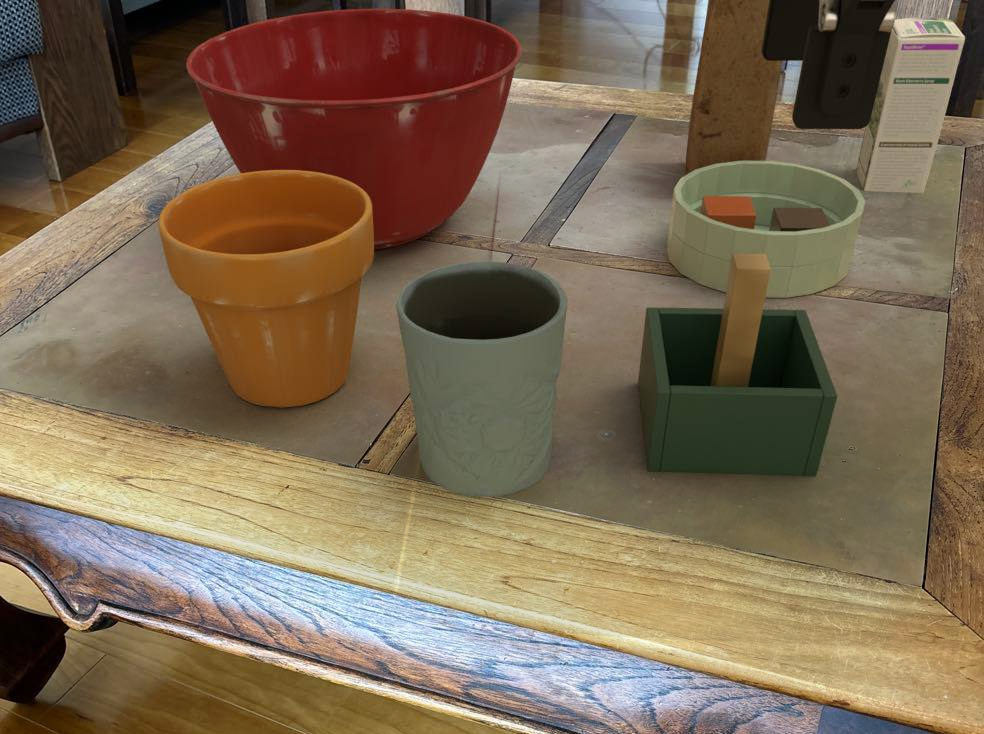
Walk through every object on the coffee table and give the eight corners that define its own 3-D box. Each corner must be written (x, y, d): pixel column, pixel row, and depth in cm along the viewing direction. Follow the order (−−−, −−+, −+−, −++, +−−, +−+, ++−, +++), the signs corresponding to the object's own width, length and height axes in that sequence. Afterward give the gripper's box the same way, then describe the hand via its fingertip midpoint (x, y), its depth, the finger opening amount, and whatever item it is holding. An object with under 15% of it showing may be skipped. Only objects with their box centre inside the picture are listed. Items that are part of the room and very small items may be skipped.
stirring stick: (734, 418, 70) (766, 253, 62) (738, 435, 68) (771, 268, 60) (704, 417, 70) (732, 253, 62) (708, 434, 69) (736, 268, 61)
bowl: (828, 226, 94) (843, 160, 90) (865, 306, 82) (884, 235, 78) (660, 224, 95) (667, 159, 91) (673, 303, 84) (683, 233, 80)
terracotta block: (742, 239, 91) (749, 195, 88) (748, 260, 88) (756, 215, 85) (696, 239, 91) (702, 195, 88) (701, 259, 88) (707, 214, 85)
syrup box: (924, 198, 98) (971, 35, 88) (859, 196, 98) (899, 34, 89) (913, 175, 102) (957, 17, 92) (851, 173, 103) (888, 16, 93)
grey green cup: (517, 528, 63) (521, 357, 55) (377, 482, 67) (362, 316, 59) (582, 442, 69) (595, 278, 61) (451, 404, 73) (447, 246, 65)
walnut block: (812, 252, 88) (821, 207, 86) (820, 273, 85) (831, 228, 83) (764, 251, 89) (773, 207, 86) (772, 273, 86) (781, 227, 83)
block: (758, 209, 97) (800, -27, 84) (678, 204, 98) (707, -29, 85) (760, 167, 105) (799, -55, 92) (686, 162, 106) (714, -57, 93)
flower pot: (230, 323, 83) (201, 164, 74) (401, 334, 81) (391, 172, 72) (165, 422, 72) (122, 249, 64) (360, 438, 70) (342, 261, 62)
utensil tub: (786, 392, 73) (805, 309, 69) (814, 483, 65) (837, 396, 61) (637, 389, 74) (646, 306, 70) (646, 478, 66) (657, 391, 62)
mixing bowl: (298, 152, 111) (279, -5, 101) (552, 179, 104) (559, 13, 94) (161, 265, 91) (120, 84, 81) (463, 309, 84) (460, 115, 74)
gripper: (1109, -418, 30) (941, 160, 41) (948, -399, 43) (854, 37, 54) (847, -406, 31) (752, 158, 42) (766, -391, 44) (710, 38, 55)
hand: (809, 90), depth 48 cm, fingers open, 9 cm apart
